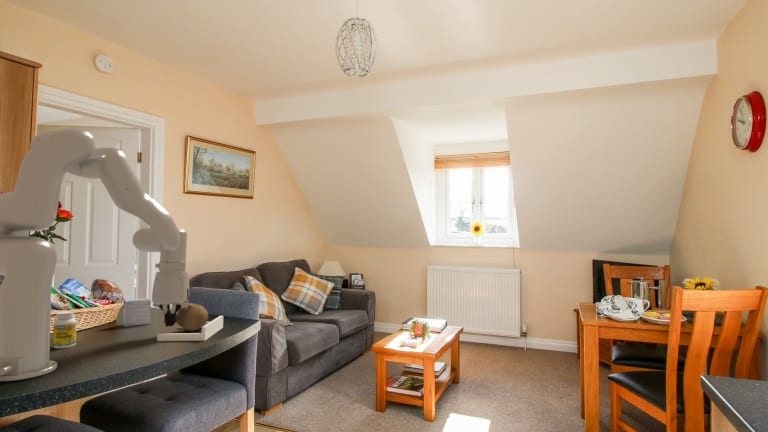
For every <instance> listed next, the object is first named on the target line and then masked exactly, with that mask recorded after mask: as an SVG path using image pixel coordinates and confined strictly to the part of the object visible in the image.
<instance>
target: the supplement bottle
mask: <svg viewBox="0 0 768 432" xmlns="http://www.w3.org/2000/svg"><path fill="white" fill-rule="evenodd" d="M74 312H75V311H70V310H69V311H67V310H66V311H60V312H56V319H57V320H54V322H53V326H52V327H53V329H52V332H53V333H52V335H53V336H52V346H53V348H54V349H66V348H67V349H68V348H72V347H75V346H76V345H77V320H76V318H73V317H74V315H75V313H74Z"/></svg>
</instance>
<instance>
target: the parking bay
mask: <svg viewBox="0 0 768 432" xmlns="http://www.w3.org/2000/svg"><path fill="white" fill-rule="evenodd" d="M223 328H224V315H218V317H216V318H214V319H212V320H211V321H206V323H205V324H204V325H203V326H202V327H200V328H199V329H201V332H189V333H188V332H187V333H184V332H183V333H182V332H180V333H177V332H175V333H173V332H172V333H171V332H170V333H167V332H166V333H162V332H161V333H158V334H157V336H156V341H157V342H183V341H185V342H189V341H191V342H192V341H198V342H200V341H202V342H203V341H204V342H205V341H207V340H208V339H209V338H211V337H212V336H213V335H214V334H216V333H218V332H219V331H220V330H222V329H223ZM179 329H184V328H183V327H181V326H179Z"/></svg>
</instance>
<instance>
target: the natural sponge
mask: <svg viewBox="0 0 768 432" xmlns="http://www.w3.org/2000/svg"><path fill="white" fill-rule="evenodd" d="M188 303H189V306H187V307H183V308H181V309H180V310H178V312H177V313H176V323H175V324H176V325H178V326H179V327H180V326H181V327H183V328H182V329H184V330H186V331H189V332H194V331H197V330H199V329H201V328H200V327H202V326H203V325H204V324H205V323H206V322H208V319H209V313H208V311H207V310H206V308H205V306H202V305H201V304H198V303H192V302H191V303H190V302H188Z"/></svg>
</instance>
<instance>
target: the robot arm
mask: <svg viewBox="0 0 768 432" xmlns="http://www.w3.org/2000/svg"><path fill="white" fill-rule="evenodd" d="M95 145H96V143H95V139H94V137H93V135H92V134H91V133H90V132H89V131H87V130H85V129H83V128H77V127H71V128H64V129H57V130H48V131H43V132H40V133H38V134H36V135H35V136H33V138H32V139H31V142H30V145H29V146H30V147H29V151H28V152H26V154H25V156H24V157H23V160H22V162H21V164H20V167H19V171H18V174H17V177H16V182H15V186H14V190H13V191H9V192H8V191H7V192H4V193H1V194H0V276H4V278H3V280H2V283H1V286H0V382H10V381H20V380H27V379H31V378H32V379H33V378H37V377H41V376H44V375H47V374H49V373H52V372H53V371H56V369H57V368H58V362H57V361H55V360H50V351H51V350H50V348H51V346H50V345H51V343H50V341H51V316H52V315H51V314H52V313H51V312H52V311H51V310H52V288H53V287H52V285H53V279H54V274H55V271H56V266H57V259H58V257H57V251H56V249H55V247H54V246H53V245H52V243H51V242H49V240H46V239H44V238H42V237H39V236H33V235H32V236H31V235H29V233H30V231H31V232H34V231H43V230H47V229H48V228H50V227H51V226H53V225H54V223H55V221H56V219H57V215H58V208H59V201H60V196H61V189H62V184H63V180H64V177H65V174H66V173H68V174H71V175H74V176H78V177H81V178H85V179H91V180H93V179H100V181H101V182H102V184H103V186H104V188H105V189H106V191H107V193H108V195H109V196H110V198H111V200H112V201H113V204H114V205H115V206H116V207H117V208H119V209H120V210H122V211H123V212H126V213H128V214H130V215H133V216H135V217H137V218H139V219H140V220H141V221H143V222H144V223H146V225H148V227H142V228H140V229H138V230H136V231H135V233H134V234H133V236H132V244H133V246H134V247H135V248H136V249H137V250H139V251H141V252H147V253H159V254H160V256H159V263H155V265H154V266H155V268H156V269H158V271H156V272H155V276H154V279H153V286H152V293H151V303H152V306H153V307H154V308H158V309H160V310H161V311H162V313H163V315H164V317H163V319H164V320H163V323H164V324H165V327H173V326H175V324H177V323H176V315H177V313H178V312H179V310H180V309H181V308H183V307H187V306H189V303H190V302H189V300H190V281H189V272H188V271H186V266H187V265H186V264H187V244H188V243H187V241H188V233H187V231H186V230H185V229H183V228H178V227H177V225H176V223H175V221H174V219H173V217H172V215H171V213H169V212H168V211H167V210H166V209H165V208H164V207H163V206H162V205H161V204H160V203H159V202H158V201H156V200H155V199H154V198H153V197H151V196H150V195H149V194H148V193H147V192H146V190H145V189H144V187H143V185H142V183H141V181H140V179H139V178H138V176H137V174H136V172H135V170H134V168H133V166H132V164H131V163H130V162H131V161H129V159H128V158H127V155H126V154H125V152H124V151H122V150H121V149H119V148H115V147H95Z"/></svg>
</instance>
